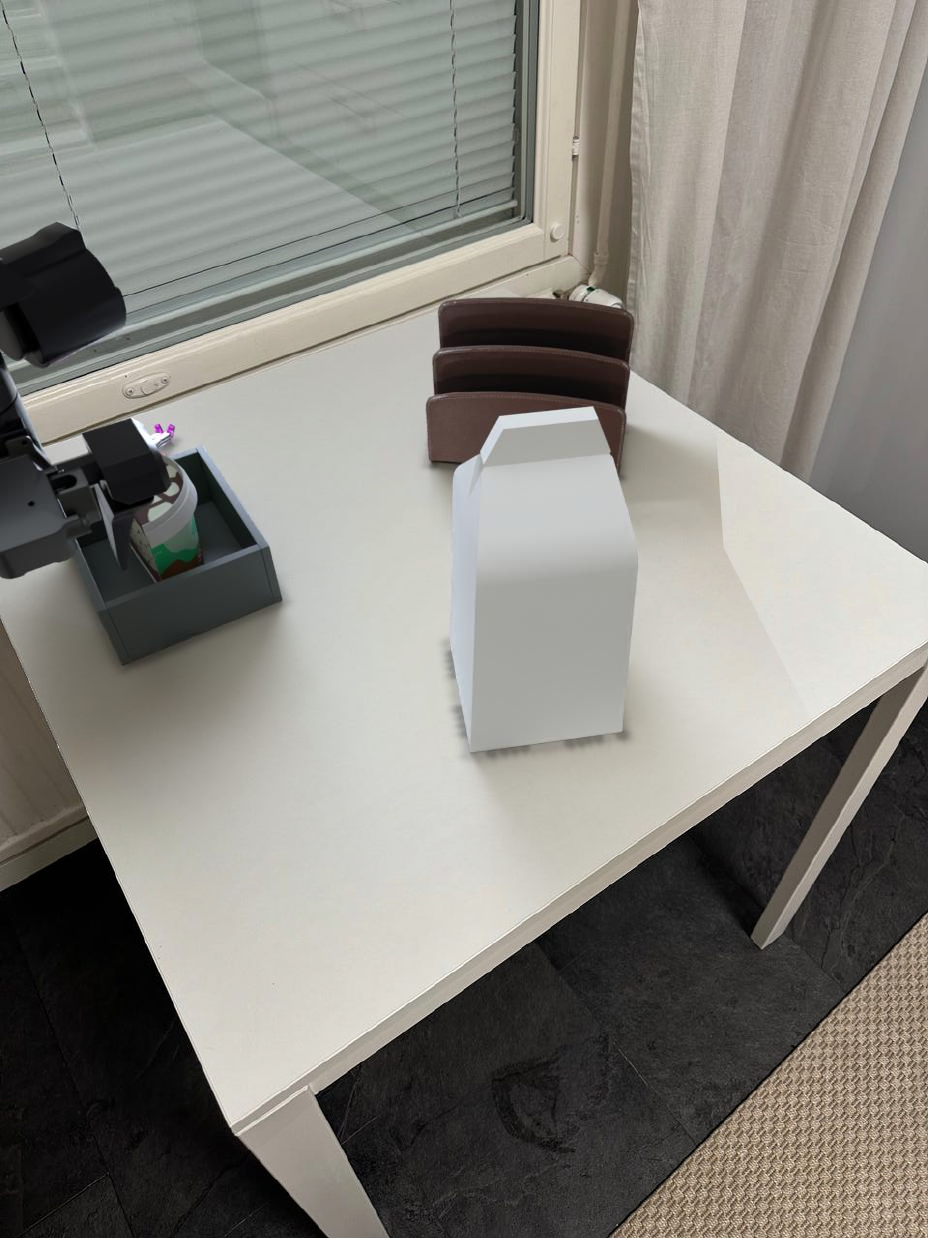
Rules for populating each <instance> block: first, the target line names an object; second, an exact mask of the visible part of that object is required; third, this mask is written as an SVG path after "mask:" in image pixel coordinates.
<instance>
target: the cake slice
mask: <svg viewBox="0 0 928 1238" xmlns="http://www.w3.org/2000/svg"><path fill="white" fill-rule="evenodd" d="M161 455H162V458H163V460H164V462H165V464H166V467H167V470H168V474H169V477H170V480H171V483H172V485H171V486H170V488H169V489H168V490H167V492H164V493H161V494H158V495H155V496H154V501H153V503H152V504H150V505H148V506H145V507H143V508H141V509H140V510H139V511H138V512H136V513H135V516H134V519H133V523H132V528H131V535H130V547H131V549H132V550H133V552H134V553H135V554H136V556H137V557H138V559H139V560H140V562H141V563H142V565H143V566H144V568H145V569H146V571H147V572H148V573H149V575H150V576H151V578H152V579H153V581H154V582H155V583H157V582H160V581H162V580H165V579H168V578H170V577H173V576H175V575H178V574H181V573H183V572H186V571H189V570H191V569H194V568H196V567H199V566H202V565H204V561H203V556H202V552H201V547H200V542H199V538H198V533H197V528H196V524H195V519H194V515H193V513H194V511H195V508H196V504H197V493H196V489H195V487H194V485H193V484H192V482H191V480H190V479H189V477H188V476H187V474H186V472H185V471H184V470H183V469H182V468H181V467H180V466H179V465H178V464H177V463H176V462H175V461H174V460H173V459H171V458H169V457H170V456H168V455H167V454H166V455H167V456H166V455H163V454H161Z"/></svg>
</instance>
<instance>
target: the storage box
mask: <svg viewBox="0 0 928 1238" xmlns="http://www.w3.org/2000/svg"><path fill="white" fill-rule="evenodd" d="M168 457H169V458H171V459H173V460H174V461H175V462H176V463H177V464H178V465H179V466H180V467H181V468H182V469H183V470H184V471H185V472H186V474H187V476H188V477H189V479H190V480H191V482H192V484H193V485H194V487H195V489H196V493H197V504H196V508H195V511H194V513H193V515H194V519H195V524H196V528H197V533H198V538H199V542H200V547H201V552H202V556H203V561H204V565H202V566H199V567H196V568H194V569H191V570H189V571H186V572H183V573H181V574H178V575H175V576H173V577H170V578H168V579H165V580H162V581H160V582H157V583H155V582H154V581H153V579H152V578H151V576H150V575H149V573H148V572H147V571H146V569H145V568H144V566H143V565H142V563H141V562H140V560H139V559H138V557H137V556H136V554H135V553H134V552H133V550H132V549H131V547H129V560H128V569H127V570H126V571H122V570H121V568H120V566H119V564H118V562H117V559H116V557H115V555H114V552H113V550H112V548H111V545H110V542H109V538H108V534H107V530H106V527H105V523H104V519H103V516H102V512H101V508H100V505H99V501H98V497H97V494H96V490H95V486H94V485H92V486H90V488H91V491H92V493H93V496H94V498H95V500H96V503H97V505H98V508H99V510H100V513H101V516H102V519H101V520H100V521H97V522H94V523H92V524H91V525H90V529H91V532H92V533H89V534H86V535H83V536H80V537H77V538H75V539H76V541H77V545H78V547H77V551H76V553H75V554H74V555H73V556H72V558H73V560H74V562H75V565H76V568H77V569H78V572H79V574H80V577H81V579H82V582H83V583H84V586H85V588H86V591H87V593H88V595H89V598H90V600H91V602H92V604H93V607H94V609H95V612H96V613H97V616H98V618H99V620H100V623H101V624H102V626H103V629H104V630H105V633H106V635H107V637H108V639H109V641H110V643H111V646H112V648H113V649H114V651H115V654H116V656H117V658H118V660H119V662H120V664H121V666H125V665H127V664H129V663H131V662H134V661H136V660H139V659H141V658H143V657H146V656H148V655H149V656H150V655H151V654H153V653H156V652H158V651H161V650H164V649H166V648H168V647H171V646H174V645H175V644H178V643H180V642H182V641H185V640H188V639H190V638H193V637H195V636H197V635H200V634H202V633H204V632H207V631H210V630H213V629H215V628H217V627H219V626H222V625H224V624H227V623H229V622H232V621H234V620H236V619H239V618H241V617H244V616H246V615H249V614H251V613H253V612H256V611H259V610H261V609H264V608H266V607H268V606H271V605H273V604H276V603H279V602H280V601H283V597H282V592H281V588H280V583H279V579H278V576H277V571H276V568H275V564H274V559H273V555H272V550H271V547H270V545H269V543H268V541H267V540H266V539H265V536H264V535H263V534H262V533H261V531H260V530H259V528H258V526H257V525H256V523H255V522H254V520H253V519H252V517H251V516H250V514H249V513H248V511H247V510H246V508H245V507H244V505H243V504H242V502H241V501H240V499H239V497H238V496H237V494H236V493H235V492H234V490H233V489H232V487H231V485H230V484H229V482H228V481H227V479H226V478H225V476H224V475H223V473H222V471H221V470H220V469H219V467H218V466H217V464H216V463H215V461H214V459H213V458H212V457H211V455H210V453H209V452H208V450H207V449H206V447H205V446H204V445H200V446H197V447H194V448H191V449H188V450H184V451H182V452H179V453H176V454H172V455H170V456H168ZM58 501H59V499H58ZM59 503H60V502H59ZM60 505H61V504H60ZM61 507H62V506H61ZM62 510H63V508H62ZM63 512H64V510H63ZM64 514H65V513H64ZM65 516H66V515H65Z"/></svg>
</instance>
